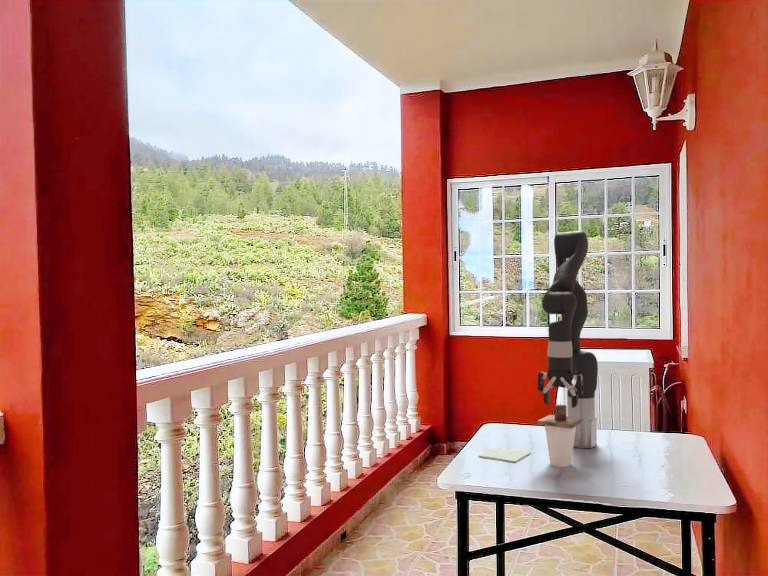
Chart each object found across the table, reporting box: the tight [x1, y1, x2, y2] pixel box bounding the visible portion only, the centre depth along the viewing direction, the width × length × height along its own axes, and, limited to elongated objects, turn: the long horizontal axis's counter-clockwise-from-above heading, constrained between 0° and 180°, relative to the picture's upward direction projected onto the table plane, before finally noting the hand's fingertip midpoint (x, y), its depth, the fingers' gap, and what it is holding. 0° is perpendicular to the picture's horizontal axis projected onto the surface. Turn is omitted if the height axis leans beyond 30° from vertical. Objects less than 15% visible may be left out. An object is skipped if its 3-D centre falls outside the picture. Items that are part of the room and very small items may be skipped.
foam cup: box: [544, 425, 576, 468], centre depth 210 cm, size 10×9×13 cm
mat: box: [478, 446, 531, 464], centre depth 221 cm, size 13×13×1 cm
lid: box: [536, 404, 583, 429], centre depth 210 cm, size 11×11×6 cm
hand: (560, 406), depth 210 cm, fingers open, 8 cm apart
